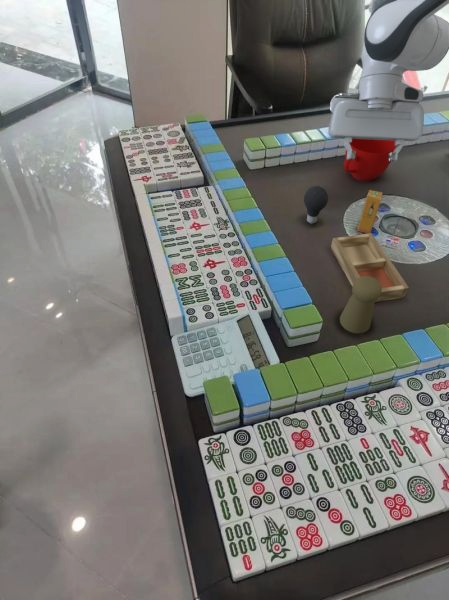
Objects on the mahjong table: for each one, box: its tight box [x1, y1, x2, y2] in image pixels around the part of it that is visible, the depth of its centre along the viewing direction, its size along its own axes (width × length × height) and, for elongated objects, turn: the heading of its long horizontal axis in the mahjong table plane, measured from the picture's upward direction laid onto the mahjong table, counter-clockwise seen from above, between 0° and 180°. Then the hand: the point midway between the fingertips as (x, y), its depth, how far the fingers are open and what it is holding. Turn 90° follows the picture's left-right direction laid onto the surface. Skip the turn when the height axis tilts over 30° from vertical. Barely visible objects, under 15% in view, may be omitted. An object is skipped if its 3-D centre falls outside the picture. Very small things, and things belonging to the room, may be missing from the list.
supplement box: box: [356, 189, 383, 234], centre depth 102 cm, size 3×3×10 cm
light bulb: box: [303, 185, 329, 225], centre depth 103 cm, size 6×6×10 cm
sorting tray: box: [330, 232, 409, 303], centre depth 94 cm, size 10×18×3 cm, turn 11°
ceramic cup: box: [343, 139, 397, 182], centre depth 117 cm, size 13×17×10 cm
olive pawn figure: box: [339, 276, 382, 334], centre depth 82 cm, size 6×6×11 cm
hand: (371, 160), depth 97 cm, fingers open, 8 cm apart
